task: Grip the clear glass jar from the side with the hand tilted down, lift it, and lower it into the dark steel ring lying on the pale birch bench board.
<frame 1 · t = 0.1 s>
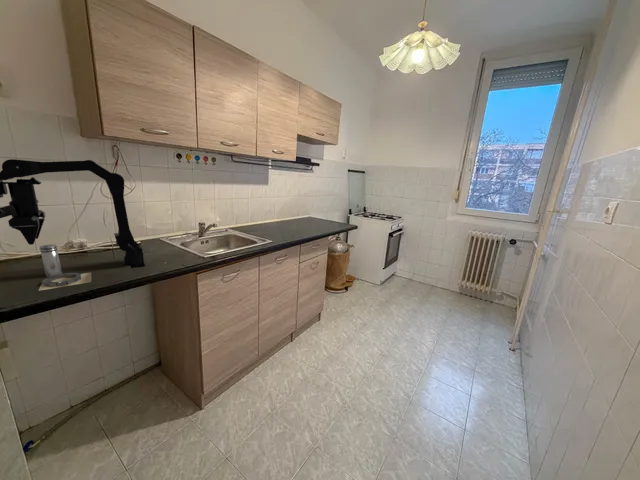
hand: (33, 241, 90), 14 cm above the countertop, tool pointing down, fingers open, 9 cm apart
bench board: (67, 283, 91), on the countertop
clear glass jar: (54, 277, 96), on the countertop
ring: (63, 280, 91), resting on bench board
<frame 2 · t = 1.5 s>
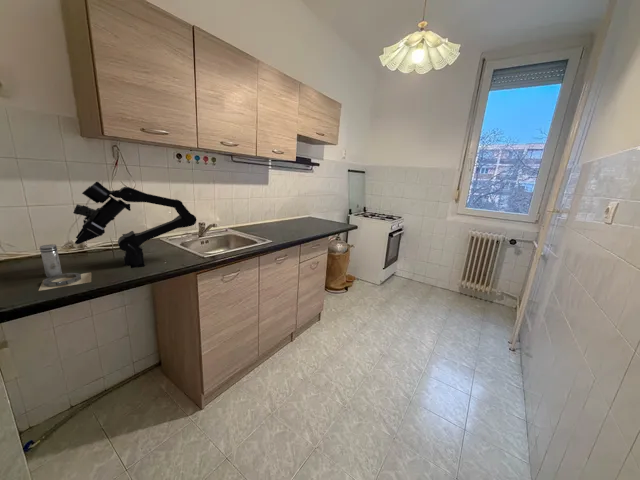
hand: (76, 240, 97), 13 cm above the countertop, tool tilted 45°, fingers open, 9 cm apart
nothing on the countertop moved.
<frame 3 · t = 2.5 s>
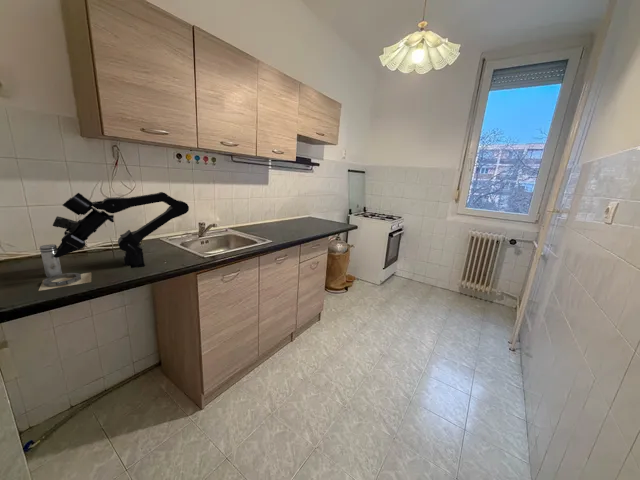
hand: (56, 253, 94), 9 cm above the countertop, tool tilted 45°, fingers open, 9 cm apart
nothing on the countertop moved.
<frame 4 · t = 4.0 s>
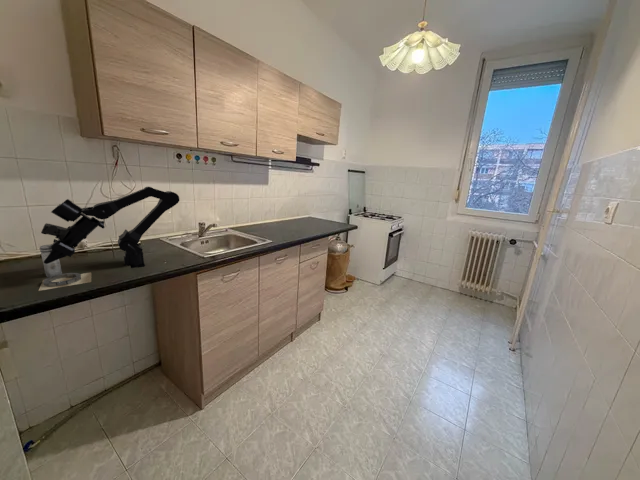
hand: (45, 261, 93), 7 cm above the countertop, tool tilted 45°, fingers closed on clear glass jar, 4 cm apart
clear glass jar: (54, 277, 96), on the countertop, touching gripper
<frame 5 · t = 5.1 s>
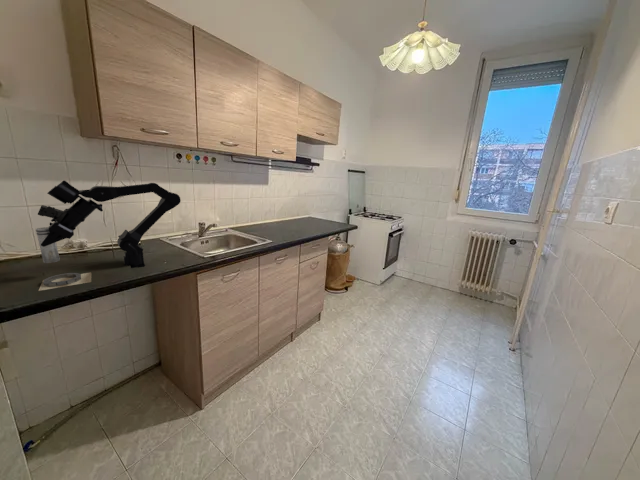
hand: (42, 244, 90), 13 cm above the countertop, tool tilted 45°, fingers closed on clear glass jar, 4 cm apart
clear glass jar: (51, 261, 93), point 7 cm above the countertop, touching gripper
when the fingers open (9 cm above the countertop, at t = 6.7 s): clear glass jar drops 1 cm, resting on bench board.
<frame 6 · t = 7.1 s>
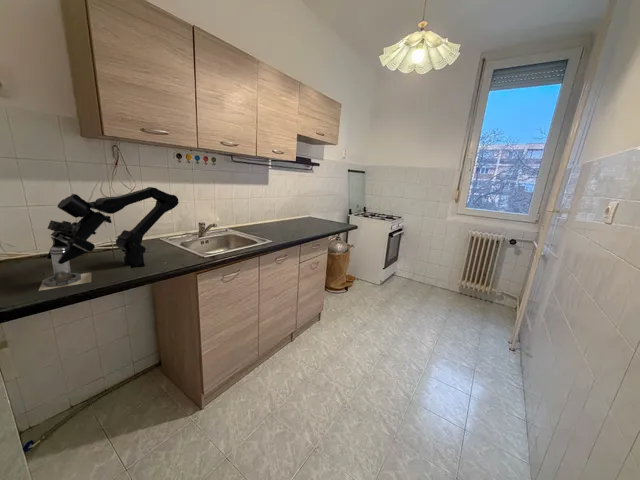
hand: (53, 260, 88), 9 cm above the countertop, tool tilted 45°, fingers open, 9 cm apart
clear glass jar: (63, 280, 91), point 1 cm above the countertop, touching bench board
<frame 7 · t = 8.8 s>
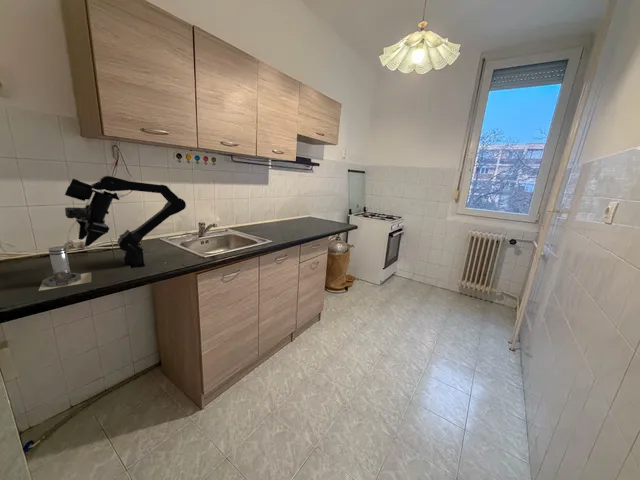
hand: (83, 242, 98), 13 cm above the countertop, tool tilted 25°, fingers open, 9 cm apart
nothing on the countertop moved.
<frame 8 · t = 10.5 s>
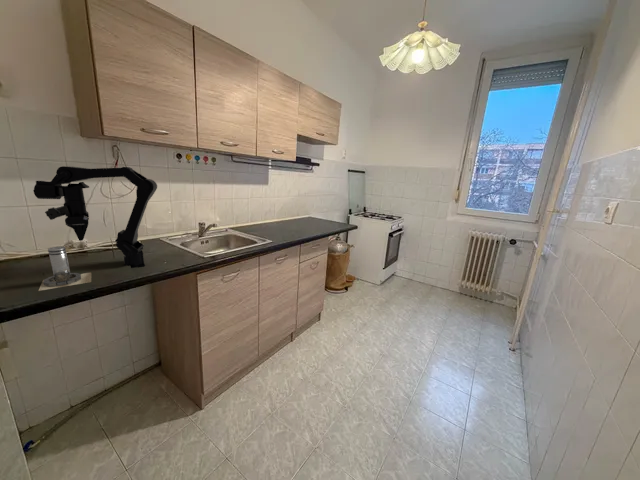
hand: (81, 238, 102), 13 cm above the countertop, tool pointing down, fingers open, 9 cm apart
nothing on the countertop moved.
at the end: clear glass jar 0.1 cm from the ring (horizontally); clear glass jar point 1.0 cm above the countertop; clear glass jar tilted 1° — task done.
